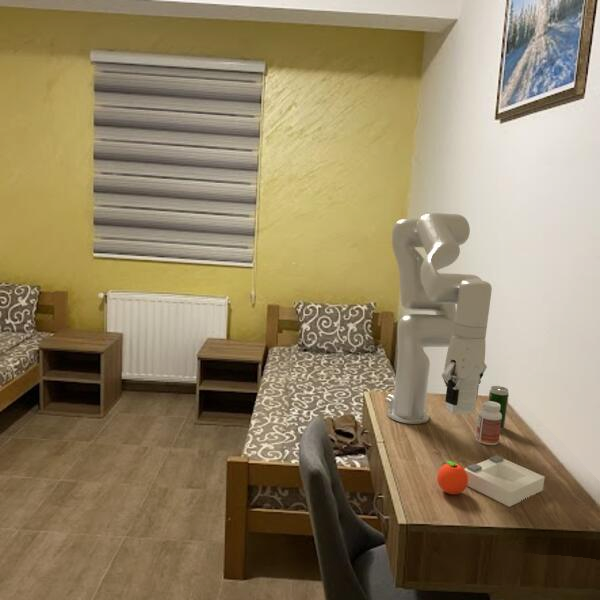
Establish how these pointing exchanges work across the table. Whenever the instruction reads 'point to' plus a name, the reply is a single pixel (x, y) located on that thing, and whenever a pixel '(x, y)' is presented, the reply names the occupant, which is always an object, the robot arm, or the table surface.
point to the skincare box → (466, 394)
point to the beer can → (500, 400)
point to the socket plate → (504, 480)
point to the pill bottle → (489, 423)
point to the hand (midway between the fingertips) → (461, 400)
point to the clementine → (452, 478)
